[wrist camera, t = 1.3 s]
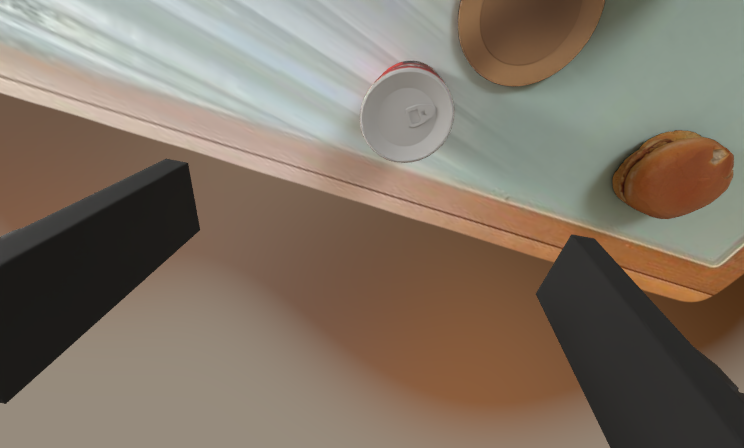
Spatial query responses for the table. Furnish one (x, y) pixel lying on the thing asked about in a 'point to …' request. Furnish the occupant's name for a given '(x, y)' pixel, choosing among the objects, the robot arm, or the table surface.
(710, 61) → the table surface
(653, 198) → the burger
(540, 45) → the plate
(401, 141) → the canned food
